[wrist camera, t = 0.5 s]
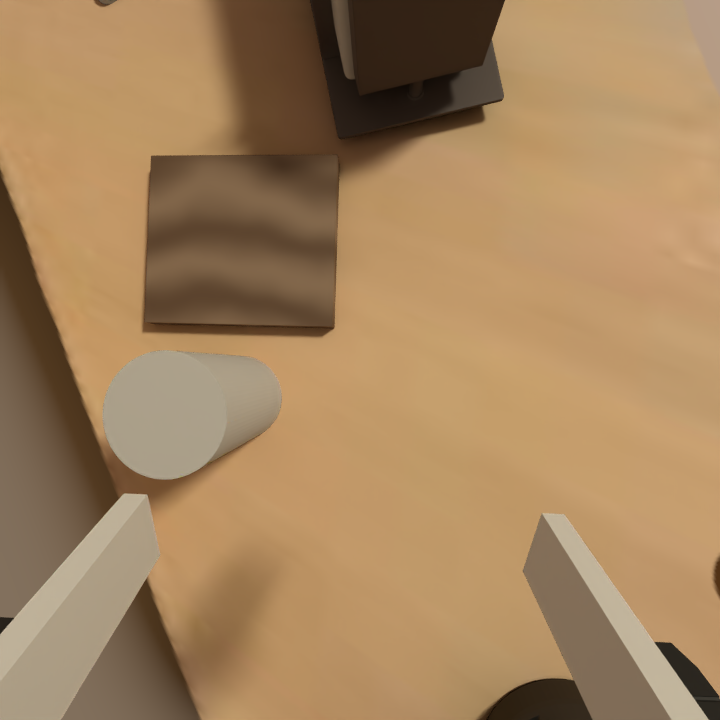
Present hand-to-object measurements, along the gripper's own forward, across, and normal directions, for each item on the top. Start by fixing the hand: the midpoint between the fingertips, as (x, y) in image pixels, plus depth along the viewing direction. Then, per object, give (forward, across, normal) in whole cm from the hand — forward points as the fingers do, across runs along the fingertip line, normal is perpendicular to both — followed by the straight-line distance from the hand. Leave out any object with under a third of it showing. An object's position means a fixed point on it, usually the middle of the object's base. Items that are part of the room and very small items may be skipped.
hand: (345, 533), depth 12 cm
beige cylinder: (+21, +11, +7) cm, 25 cm away
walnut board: (+27, +11, -7) cm, 30 cm away
